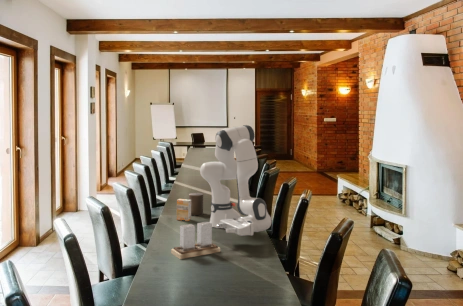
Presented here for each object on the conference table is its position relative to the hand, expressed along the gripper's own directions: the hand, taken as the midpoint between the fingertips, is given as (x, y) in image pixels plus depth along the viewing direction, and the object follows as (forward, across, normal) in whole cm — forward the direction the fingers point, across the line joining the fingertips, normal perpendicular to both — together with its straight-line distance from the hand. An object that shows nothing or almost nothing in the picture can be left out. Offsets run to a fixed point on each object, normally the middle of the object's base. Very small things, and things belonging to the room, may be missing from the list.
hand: (221, 228), depth 223 cm
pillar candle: (-22, -70, +10) cm, 74 cm away
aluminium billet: (+10, 0, +8) cm, 13 cm away
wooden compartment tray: (+14, 0, +10) cm, 18 cm away
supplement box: (-8, -60, +10) cm, 61 cm away
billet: (+19, 0, +8) cm, 21 cm away
